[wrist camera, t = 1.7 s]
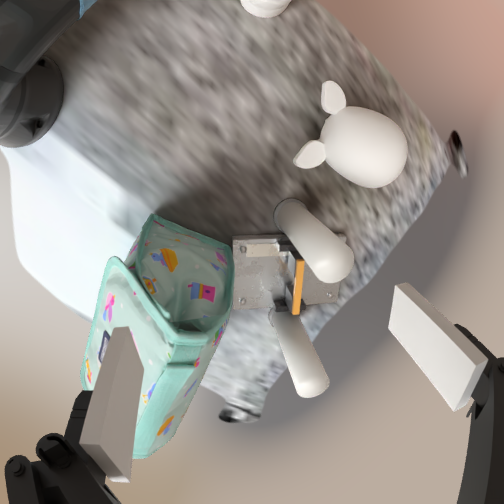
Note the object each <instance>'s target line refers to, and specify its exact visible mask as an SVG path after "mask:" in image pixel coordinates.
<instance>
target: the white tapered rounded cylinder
mask: <svg viewBox="0 0 504 504" xmlns="http://www.w3.org/2000/svg"><path fill="white" fill-rule="evenodd" d="M268 318H269V321H270V324H271V325H272V326H273V327H274V328H275V331H276V334H277V337H278V340H279V343H280V345H281V348H282V351H283V354H284V357H285V360H286V362H287V365H288V368H289V371H290V373H291V376H292V379H293V382H294V384H295V388H296V390H297V393H298V395H300V396H301V397H305V398H310V397H315V396H317V395H320V394H321V393H323V392H324V391H325V390H326V389H327V388H328V386H329V382H330V381H329V378H328V376H327V374H326V372H325V370H324V368H323V365H322V363H321V361H320V359H319V357H318V355H317V353H316V351H315V349H314V347H313V345H312V343H311V341H310V339H309V336H308V334H307V332H306V330H305V328H304V326H303V324H302V322H301V320H300V318H299V314H296V315H293V314H292V313H291V312H290V311H286V312H275V310H274V307H272V308H271V310H270V312H269V315H268Z"/></svg>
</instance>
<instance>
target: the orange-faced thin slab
mask: <svg viewBox="0 0 504 504" xmlns="http://www.w3.org/2000/svg"><path fill="white" fill-rule="evenodd" d="M304 263H305V260H304V258H303V257H302V256H301V254H300V253H299V252H298V251H290V252H289V256H288V269H289V270H290V272H291V274H292V275H293V277H294V278H295V280H294V285H289V286H286V296H285V302H286V304H287V306H288V308H289V310H290V312H291V313H292V314H293V315H296V314H299V312H300V303H301V293H302V283H303V273H304Z"/></svg>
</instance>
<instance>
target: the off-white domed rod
mask: <svg viewBox="0 0 504 504" xmlns="http://www.w3.org/2000/svg"><path fill="white" fill-rule="evenodd" d="M273 219H274V223H275V225H276V226H277V228H278V229H279V230H280V231H282V232H284V233H285V234H286V235H287V237H288V238H289V239H290V241H291V242H292V243H293V245H294V246H295V247H296V249H297V250H298V252H299V253H300V254H301V256H302V257H303V258H304V260H305V261H306V263H307V264H308V265H309V267H310V268H311V269H312V271H313V272H314V274H315V275H316V276H317V278H318V279H319V280H321V281H323V282H325V283H335V282H338V281H341V280H342V279H344V278H345V277H346V276H347V275H348V274H349V273H350V271H351V270H352V267H353V264H354V255H353V252H352V250H351V249H350V248H349V246H347V245H346V244H345V243H344V242H343V241H342V240H341V239H340V238H338V237H337V236H336V235H335V234H334V233H333V232H332V231H331V230H329V229H328V228H327V227H326V226H325V225H324V224H323V223H321V222H320V221H319V220H318V219H317V218H316V217H314V216H313V215H312V214H311V213H310V212H309V211H308V210H307V207H306V206H305V205H304V204H303V203H302V202H301V201H299V200H297V199H286V200H283V201H282V202H280V203H279V204H278V205H277V207H276V208H275V210H274V214H273Z"/></svg>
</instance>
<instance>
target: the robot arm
mask: <svg viewBox="0 0 504 504" xmlns="http://www.w3.org/2000/svg"><path fill="white" fill-rule="evenodd" d="M96 1H97V0H0V145H2V146H4V147H9V148H17V147H22V146H27V145H30V144H32V143H34V142H36V141H37V140H39V139H40V138H41V137H42V136H43V135H44V134H45V133H46V132H47V131H48V130H49V129H50V127H51V126H52V124H53V123H54V121H55V119H56V117H57V115H58V113H59V110H60V107H61V103H62V98H63V80H62V76H61V73H60V70H59V68H58V67H57V65H56V64H55V63H54V62H53V61H52V60H51V59H50V58H48V57H46V56H43V54H44V53H45V52H46V51H47V50H48V49H49V47H50V46H51V45H52V44H53V43H54V42H55V41H56V40H57V39H58V38H59V37H60V36H61V35H62V34H63V33H64V32H65V31H66V30H67V29H68V28H69V27H70V26H71V25H72V24H73V23H74V22H75V21H78V20H79V19H81V17H82V16H83V14H84V12H85V11H86V10H88V9H89V8H90V7H91V6H92V5H93V4H94V3H95V2H96ZM388 329H389V330H390V331H391V332H392V334H393V335H394V336H395V337H396V338H397V340H398V341H399V342H400V343H401V345H402V346H403V347H404V348H405V349H406V351H407V352H408V353H409V355H410V356H411V357H412V358H413V359H414V361H415V362H416V363H417V365H418V366H419V367H420V368H421V370H422V371H423V372H424V373H425V375H426V376H427V377H428V378H429V380H430V381H431V383H432V384H433V385H434V386H435V388H436V389H437V390H438V392H439V393H440V394H441V396H442V397H443V398H444V400H445V401H446V402H447V403H448V405H449V406H450V408H451V409H452V410H453V411H456V410H458V409H460V408H462V407H464V406H465V405H466V404H467V403H468V401H469V399H470V397H472V398H473V399H474V400H475V401H474V402H473V404H472V406H471V408H470V410H469V411H468V413H467V416H466V417H469V415H470V413H471V412H472V415H471V426H470V434H469V443H468V449H467V456H466V462H465V468H464V473H463V479H462V483H461V488H460V492H459V497H458V501H457V504H504V358H498V359H497V358H496V357H495V356H494V355H493V354H492V353H491V352H490V351H489V350H488V349H487V348H486V347H485V346H484V345H483V344H482V343H481V342H479V341H478V339H477V338H476V337H474V336H473V335H472V334H471V333H470V332H469V331H468V330H467V329H466V328H464V327H462V326H461V325H459V324H455V325H453V324H452V323H451V322H450V321H449V320H448V319H447V318H446V317H444V315H443V314H441V313H440V312H439V311H438V310H437V309H436V308H435V307H434V306H433V305H432V304H431V303H430V302H428V301H427V300H426V299H425V298H424V297H423V296H422V295H421V294H420V293H419V292H417V291H416V290H415V289H414V288H413V287H412V286H411V285H409V284H408V283H402V284H398V285H395V291H394V298H393V304H392V310H391V316H390V322H389V327H388ZM143 375H144V367H143V364H142V362H141V359H140V357H139V354H138V351H137V348H136V346H135V343H134V340H133V337H132V334H131V331H130V329H129V326H126V327H115V328H114V329H113V331H112V334H111V337H110V340H109V343H108V346H107V349H106V352H105V355H104V358H103V361H102V364H101V367H100V370H99V373H98V377H97V380H96V383H95V386H94V390H83V391H82V392H81V393H80V394H79V395H78V397H77V398H76V399H75V402H74V406H73V408H72V409H73V411H72V412H71V415H70V419H69V421H68V425H67V428H66V431H65V435H64V437H63V436H62V435H60V434H58V433H50V434H47V435H45V436H43V437H42V438H41V439H40V440H39V442H38V443H37V446H36V454H37V456H38V457H39V458H40V459H41V461H35V462H30V461H29V460H28V459H27V458H26V457H25V456H22V455H16V456H13V457H12V458H10V459H9V460H8V461H7V464H6V466H5V479H6V487H7V493H8V499H9V504H121V503H120V501H119V500H118V499H117V498H116V497H115V495H114V494H113V493H112V491H111V490H110V489H109V487H108V486H107V485H106V484H105V478H106V476H107V477H108V478H109V479H110V480H111V481H113V482H130V478H131V468H132V457H133V448H134V439H135V431H136V423H137V415H138V408H139V401H140V394H141V388H142V381H143Z"/></svg>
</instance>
